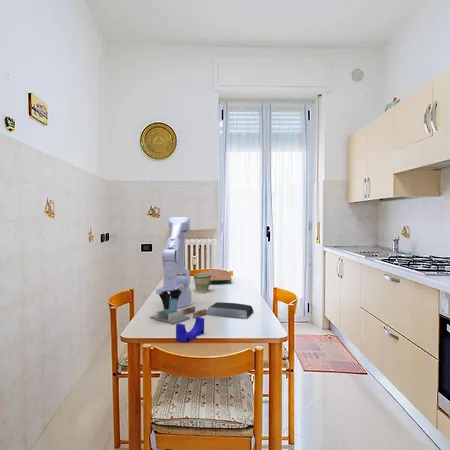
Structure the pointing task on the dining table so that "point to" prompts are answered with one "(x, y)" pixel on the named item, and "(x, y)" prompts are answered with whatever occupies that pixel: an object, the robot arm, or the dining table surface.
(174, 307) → the blue rectangular block
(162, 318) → the dock
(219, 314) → the external hard drive
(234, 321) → the dining table surface
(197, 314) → the cradle
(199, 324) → the blue cradle holder
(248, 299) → the dining table surface
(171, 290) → the robot arm
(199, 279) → the ceramic cup
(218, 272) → the sandwich
